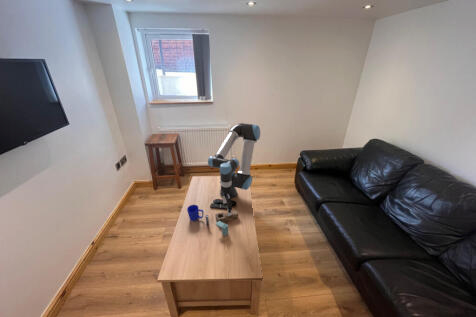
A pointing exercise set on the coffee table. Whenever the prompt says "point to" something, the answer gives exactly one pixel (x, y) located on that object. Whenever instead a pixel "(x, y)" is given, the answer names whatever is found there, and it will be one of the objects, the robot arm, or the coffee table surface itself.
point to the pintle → (207, 220)
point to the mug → (194, 212)
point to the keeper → (223, 227)
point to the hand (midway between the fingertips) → (227, 208)
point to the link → (226, 216)
